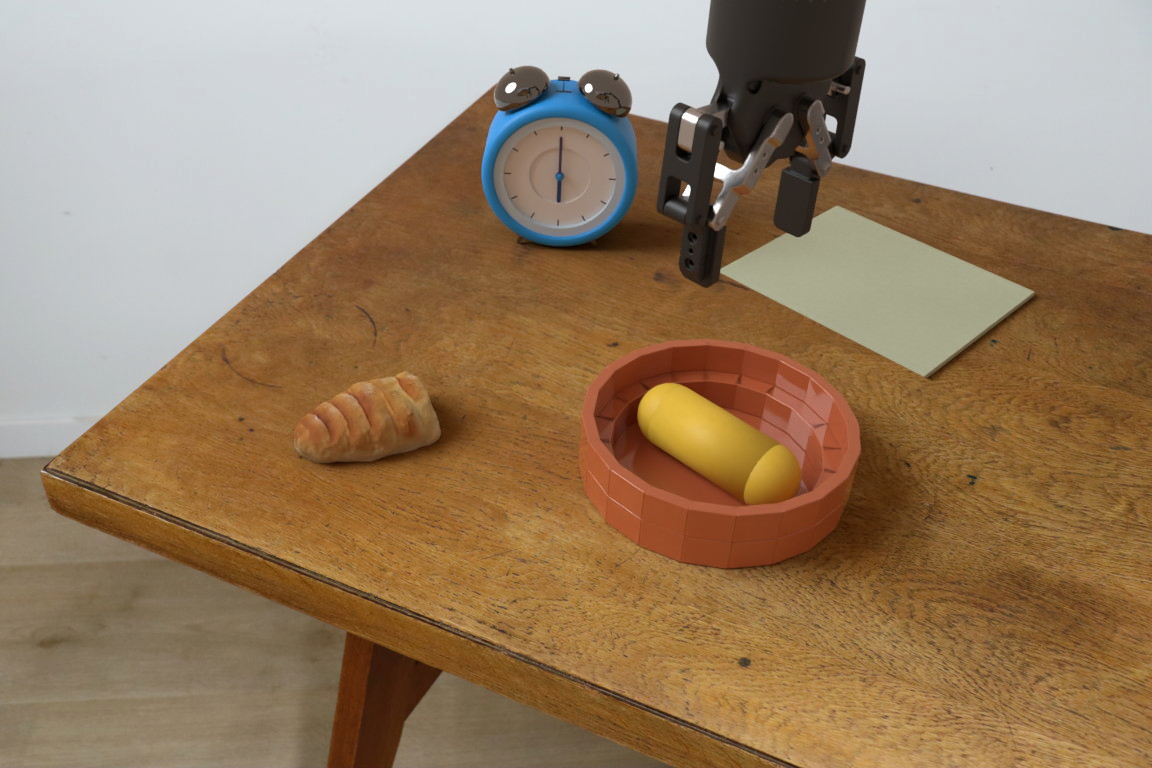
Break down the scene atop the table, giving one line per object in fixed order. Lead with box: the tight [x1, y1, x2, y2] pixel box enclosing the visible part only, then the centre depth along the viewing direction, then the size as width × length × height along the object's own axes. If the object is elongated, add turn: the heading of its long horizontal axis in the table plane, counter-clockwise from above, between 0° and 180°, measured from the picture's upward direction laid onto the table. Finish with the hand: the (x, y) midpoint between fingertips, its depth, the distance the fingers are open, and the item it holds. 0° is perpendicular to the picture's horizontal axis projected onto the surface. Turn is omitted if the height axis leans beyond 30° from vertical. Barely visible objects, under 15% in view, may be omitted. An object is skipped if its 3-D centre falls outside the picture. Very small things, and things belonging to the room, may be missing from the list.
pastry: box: [293, 370, 442, 464], centre depth 74 cm, size 9×7×4 cm
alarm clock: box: [480, 65, 639, 248], centre depth 94 cm, size 13×6×15 cm, turn 88°
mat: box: [720, 205, 1036, 379], centre depth 93 cm, size 20×20×1 cm
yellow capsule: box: [637, 383, 801, 506], centre depth 72 cm, size 12×4×4 cm, turn 45°
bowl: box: [577, 338, 862, 570], centre depth 72 cm, size 18×18×5 cm
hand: (746, 254), depth 63 cm, fingers open, 8 cm apart
